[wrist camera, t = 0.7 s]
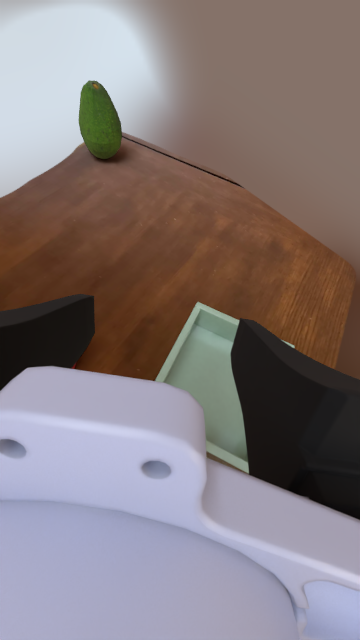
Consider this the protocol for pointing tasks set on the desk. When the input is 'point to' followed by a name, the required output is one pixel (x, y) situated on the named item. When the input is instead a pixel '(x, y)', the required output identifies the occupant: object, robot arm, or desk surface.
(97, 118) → the fruit
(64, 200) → the desk surface
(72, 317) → the robot arm
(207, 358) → the tray
